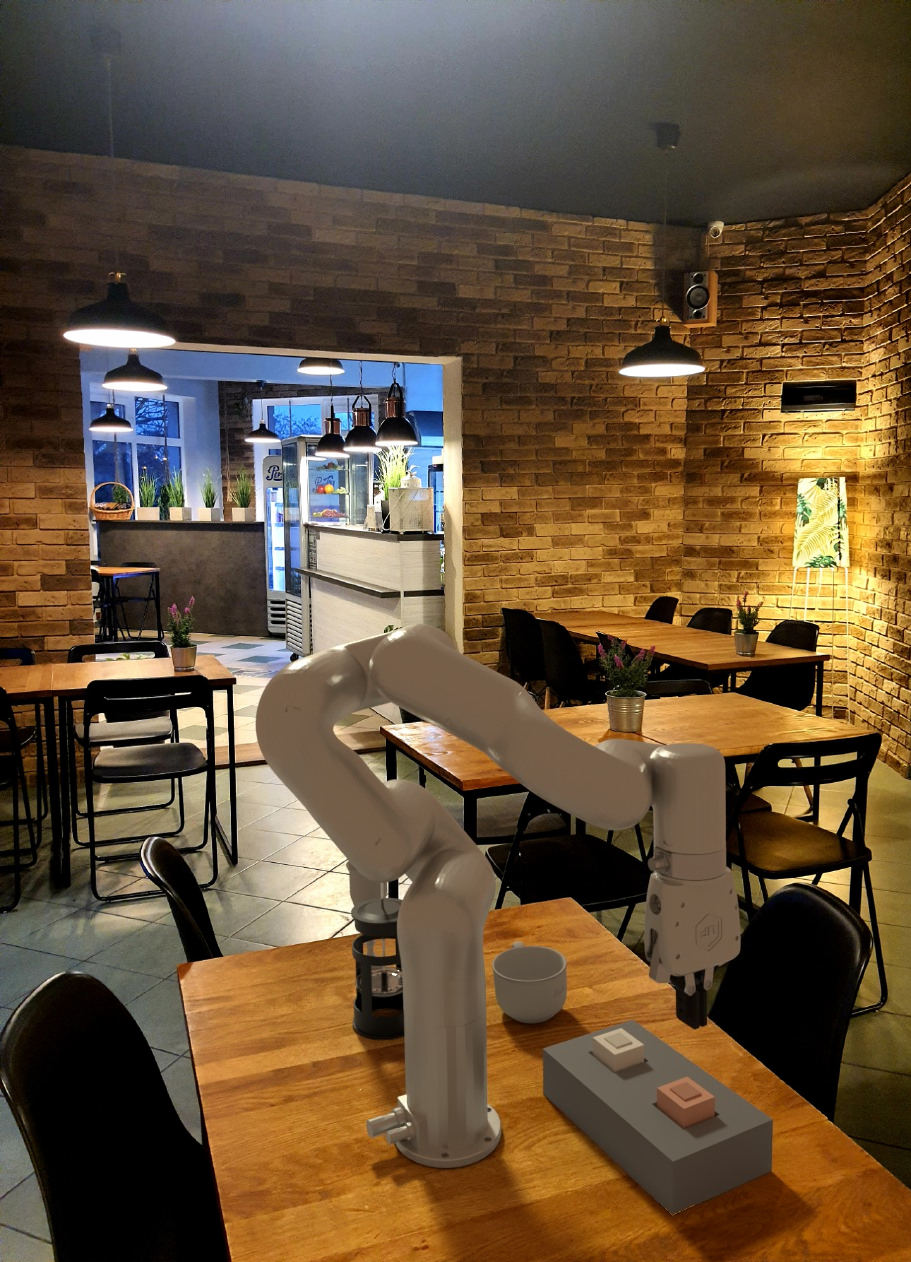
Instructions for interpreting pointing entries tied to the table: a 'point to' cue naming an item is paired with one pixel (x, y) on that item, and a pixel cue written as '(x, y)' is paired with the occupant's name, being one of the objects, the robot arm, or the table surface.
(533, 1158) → the table surface
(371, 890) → the chalice
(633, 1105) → the key console
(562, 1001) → the teacup
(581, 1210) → the table surface
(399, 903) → the french press
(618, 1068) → the key ivory
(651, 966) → the robot arm
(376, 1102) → the table surface
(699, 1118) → the key terracotta
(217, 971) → the table surface
